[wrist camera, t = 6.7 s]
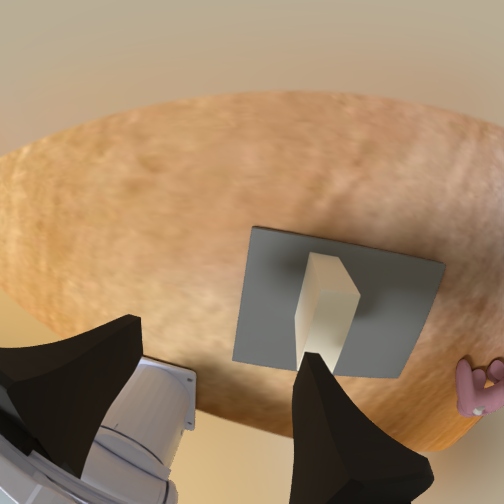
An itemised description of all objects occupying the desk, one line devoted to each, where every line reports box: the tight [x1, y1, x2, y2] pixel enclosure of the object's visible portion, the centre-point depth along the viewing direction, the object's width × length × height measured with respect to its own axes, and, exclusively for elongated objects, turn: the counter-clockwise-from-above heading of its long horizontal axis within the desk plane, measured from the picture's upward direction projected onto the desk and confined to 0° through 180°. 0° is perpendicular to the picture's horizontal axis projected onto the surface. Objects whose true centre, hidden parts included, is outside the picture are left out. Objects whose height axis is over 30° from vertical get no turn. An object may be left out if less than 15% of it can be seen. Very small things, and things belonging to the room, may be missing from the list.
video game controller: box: [456, 359, 504, 417], centre depth 18 cm, size 10×5×7 cm, turn 101°
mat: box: [232, 226, 446, 378], centre depth 20 cm, size 11×15×1 cm
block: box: [295, 252, 361, 373], centre depth 16 cm, size 5×2×6 cm, turn 171°
